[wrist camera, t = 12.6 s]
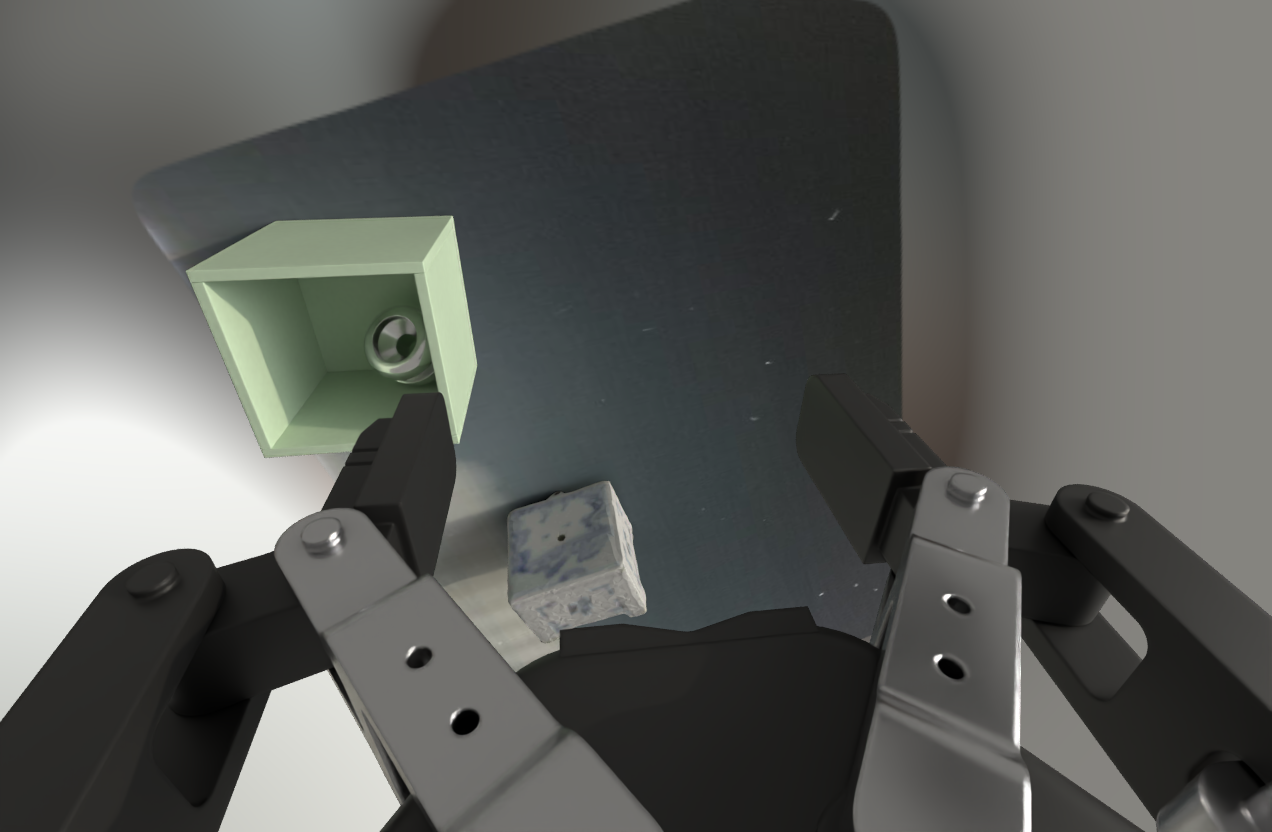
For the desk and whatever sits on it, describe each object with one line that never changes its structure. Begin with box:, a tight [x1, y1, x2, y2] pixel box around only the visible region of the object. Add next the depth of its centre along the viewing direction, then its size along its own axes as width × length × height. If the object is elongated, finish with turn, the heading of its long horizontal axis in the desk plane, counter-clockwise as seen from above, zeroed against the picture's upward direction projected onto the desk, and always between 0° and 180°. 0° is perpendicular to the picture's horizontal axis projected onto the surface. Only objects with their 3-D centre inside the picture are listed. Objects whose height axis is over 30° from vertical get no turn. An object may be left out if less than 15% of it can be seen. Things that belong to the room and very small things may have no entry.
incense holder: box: [507, 481, 647, 643], centre depth 49 cm, size 10×8×10 cm
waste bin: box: [186, 216, 477, 458], centre depth 36 cm, size 11×11×11 cm
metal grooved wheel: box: [364, 305, 436, 386], centre depth 38 cm, size 5×3×5 cm
